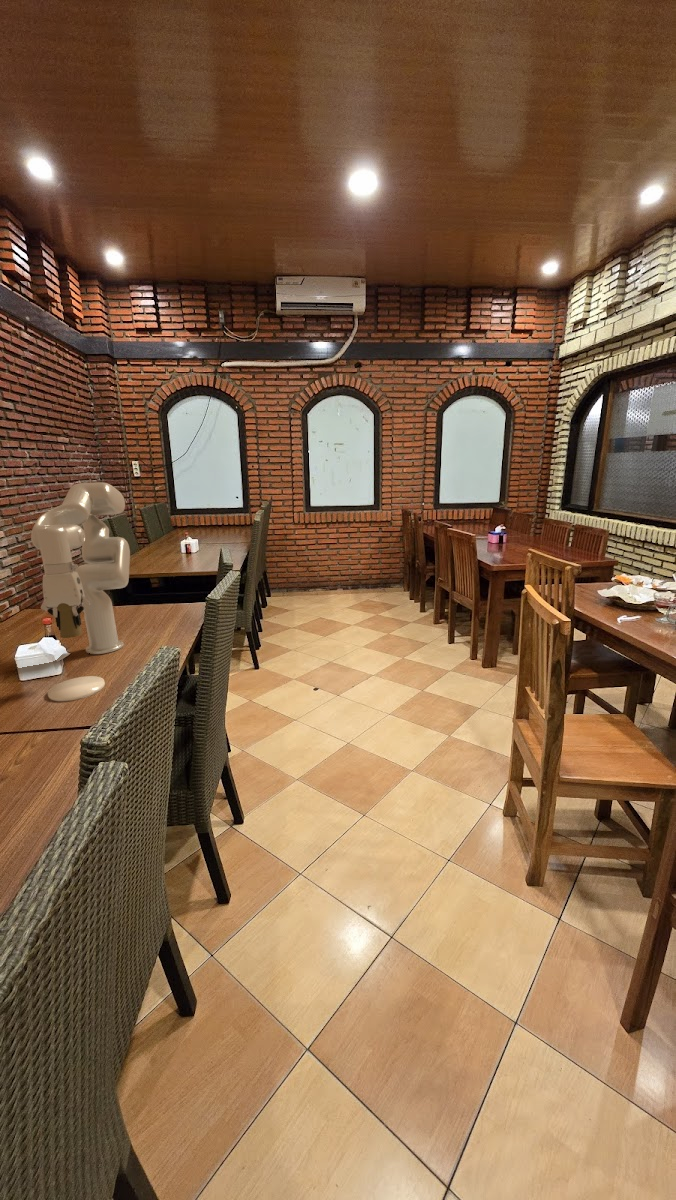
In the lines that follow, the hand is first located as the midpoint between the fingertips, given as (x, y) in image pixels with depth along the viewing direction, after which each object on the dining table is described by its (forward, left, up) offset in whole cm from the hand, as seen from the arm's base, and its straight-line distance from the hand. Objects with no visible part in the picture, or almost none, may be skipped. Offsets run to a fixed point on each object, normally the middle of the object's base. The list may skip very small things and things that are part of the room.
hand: (69, 627), depth 146 cm
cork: (0, 0, -2) cm, 2 cm away
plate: (+8, +2, -17) cm, 19 cm away
